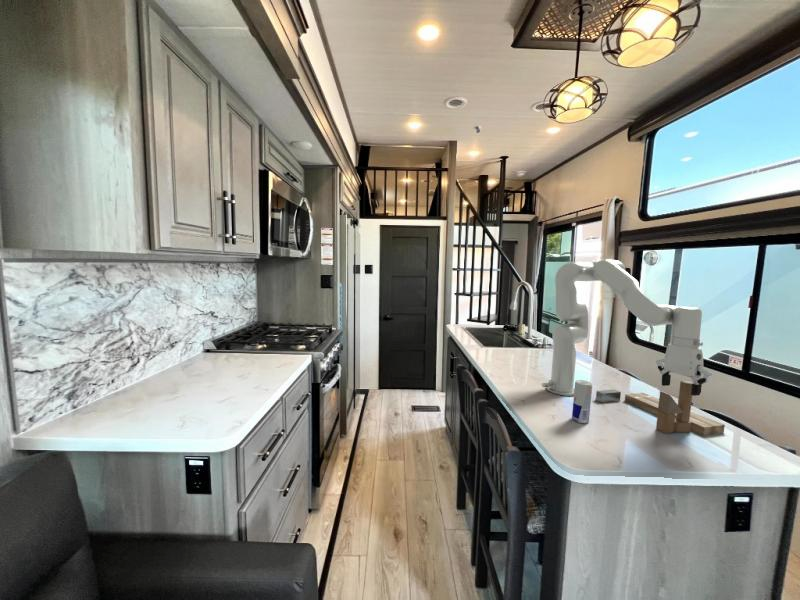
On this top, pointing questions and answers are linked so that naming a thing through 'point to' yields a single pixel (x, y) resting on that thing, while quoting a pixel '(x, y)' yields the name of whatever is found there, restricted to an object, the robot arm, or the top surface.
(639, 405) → the light brown wooden board
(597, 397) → the metal block
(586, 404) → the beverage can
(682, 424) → the wooden bracket
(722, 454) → the top surface
